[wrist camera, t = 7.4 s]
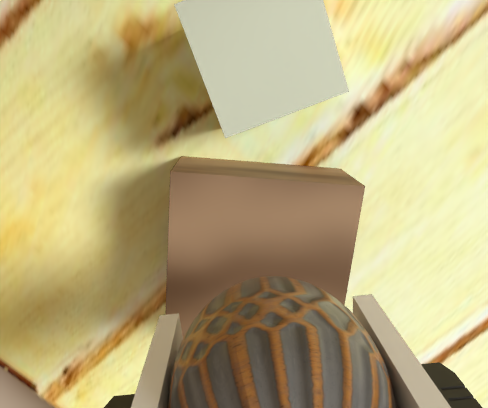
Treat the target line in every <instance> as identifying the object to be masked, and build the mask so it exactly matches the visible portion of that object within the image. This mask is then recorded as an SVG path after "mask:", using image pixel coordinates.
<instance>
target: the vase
mask: <svg viewBox="0 0 488 408" xmlns="http://www.w3.org/2000/svg"><path fill="white" fill-rule="evenodd" d="M167 408H397V405H396V399H395V395H394V390H393V386H392V382H391V379H390V376H389V373H388V370H387V368H386V365H385V363H384V360H383V358H382V356H381V354H380V352H379V351H378V349H377V347H376V345H375V343H374V342H373V340H372V339H371V337H370V335H369V334H368V332H367V331H366V329H365V328H364V327H363V325H362V324H361V323H360V322H359V320H358V319H357V318H356V317H355V315H354V314H353V313H352V312H351V311H350V310H349V309H348V308H347V307H345V306H344V305H343V304H342V303H341V302H340V301H338V300H337V299H336V298H335V297H333V296H332V295H330V294H329V293H327V292H325V291H324V290H322V289H320V288H319V287H317V286H315V285H312V284H310V283H307V282H304V281H301V280H297V279H293V278H288V277H280V276H266V277H258V278H253V279H249V280H246V281H243V282H240V283H238V284H236V285H234V286H232V287H230V288H228V289H227V290H225V291H223V292H222V293H220V294H219V295H218V296H216V297H215V298H214V299H212V300H211V301H210V302H209V303H208V304H207V305H206V306H205V307H204V308H203V309H202V311H201V312H200V313H199V314H198V315H197V317H196V318H195V319H194V321H193V322H192V324H191V325H190V327H189V329H188V330H187V332H186V334H185V336H184V338H183V340H182V342H181V344H180V347H179V350H178V352H177V355H176V358H175V362H174V365H173V370H172V374H171V378H170V384H169V391H168V401H167Z"/></svg>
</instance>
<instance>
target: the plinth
mask: <svg viewBox="0 0 488 408" xmlns="http://www.w3.org/2000/svg"><path fill="white" fill-rule="evenodd" d="M364 189H365V186H364V185H362V184H361V183H360V182H358V181H357V180H356V179H354V178H353V177H351V176H350V175H349V174H347V173H346V172H344V171H343V170H342V169H337V168H324V167H312V166H299V165H286V164H274V163H261V162H248V161H235V160H223V159H210V158H197V157H185V156H181V158H180V159H179V161H178V162H177V163H176V165H175V166H174V167H173V169H172V170H171V171H170V201H169V230H168V260H167V289H166V315H168V314H178V313H179V317H180V323H181V330H182V336H183V338H184V336H185V334H186V332H187V330H188V329H189V327H190V325H191V324H192V322H193V321H194V319H195V318H196V317H197V315H198V314H199V313H200V312H201V311H202V309H203V308H204V307H205V306H206V305H207V304H208V303H209V302H210V301H211V300H212V299H214V298H215V297H216V296H218V295H219V294H220V293H222V292H223V291H225V290H227V289H228V288H230V287H232V286H234V285H236V284H238V283H240V282H243V281H246V280H249V279H253V278H258V277H266V276H280V277H288V278H293V279H297V280H301V281H304V282H307V283H310V284H312V285H315V286H317V287H319V288H320V289H322V290H324V291H325V292H327V293H329V294H330V295H332V296H333V297H335V298H336V299H337V300H338V301H340V302H341V303H342V304H343V305H344V304H345V298H346V293H347V287H348V281H349V275H350V270H351V264H352V258H353V252H354V247H355V241H356V235H357V229H358V224H359V218H360V212H361V206H362V201H363V195H364Z"/></svg>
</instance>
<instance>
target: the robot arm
mask: <svg viewBox="0 0 488 408" xmlns="http://www.w3.org/2000/svg"><path fill="white" fill-rule="evenodd" d="M353 314H354V315H355V317H356V318H357V319H358V320H359V322H360V323H361V324H362V325H363V327H364V328H365V329H366V331H367V332H368V334H369V335H370V337H371V339H372V340H373V342H374V343H375V345H376V347H377V349H378V351H379V352H380V354H381V356H382V358H383V360H384V363H385V365H386V368H387V370H388V373H389V376H390V379H391V382H392V386H393V390H394V395H395V399H396V405H397V408H482V407H481V405H480V404H479V403H478V402H477V400H476V399H474V398H473V395H472V394H471V393H470V392H469V390H468V389H467V388H465V385H464V384H463V383H462V382H461V380H460V379H459V378H458V377H457V375H456V374H455V373H454V372H453V371H451V370H450V369H448V368H447V367H445V366H444V365H442V364H441V363H429V364H420V362H419V361H418V360H417V358H416V357H415V355H414V354H413V352H412V351H411V350H410V348H409V347H408V345H407V344H406V342H405V341H404V340H403V338H402V337H401V335H400V334H399V332H398V331H397V330H396V328H395V327H394V325H393V324H392V322H391V321H390V319H389V318H388V317H387V315H386V314H385V312H384V311H383V309H382V308H381V307H380V305H379V304H378V302H377V301H376V299H375V298H374V297H373V295H372V294H370V295H360V296H353ZM182 340H183V336H182V330H181V323H180V317H179V313H178V314H168V315H160V316H159V319H158V323H157V326H156V329H155V332H154V335H153V338H152V342H151V345H150V348H149V351H148V354H147V358H146V361H145V364H144V367H143V370H142V374H141V377H140V380H139V383H138V386H137V390H136V393H135V394H131V395H121V396H114V397H113V398H112V399H111V400H110V401H109V402H108V404H107V405H106V406H105V407H104V408H167V401H168V391H169V384H170V378H171V374H172V370H173V365H174V362H175V358H176V355H177V352H178V350H179V347H180V344H181V342H182Z"/></svg>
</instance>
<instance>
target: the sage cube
mask: <svg viewBox="0 0 488 408" xmlns="http://www.w3.org/2000/svg"><path fill="white" fill-rule="evenodd" d="M174 5H175V8H176V11H177V13H178V16H179V18H180V21H181V24H182V26H183V29H184V31H185V34H186V37H187V39H188V42H189V44H190V47H191V50H192V52H193V55H194V58H195V60H196V63H197V65H198V68H199V71H200V73H201V76H202V78H203V81H204V84H205V86H206V89H207V91H208V94H209V97H210V99H211V102H212V105H213V107H214V110H215V112H216V115H217V118H218V120H219V123H220V125H221V128H222V131H223V133H224V136H225V138H227V137H230V136H233V135H235V134H238V133H241V132H243V131H246V130H249V129H251V128H254V127H256V126H259V125H262V124H264V123H267V122H270V121H272V120H275V119H277V118H280V117H283V116H285V115H288V114H291V113H293V112H296V111H299V110H301V109H304V108H306V107H309V106H312V105H314V104H317V103H320V102H322V101H325V100H327V99H330V98H333V97H335V96H338V95H341V94H343V93H346V92H349V90H348V86H347V83H346V79H345V76H344V72H343V69H342V65H341V62H340V58H339V55H338V51H337V48H336V44H335V40H334V37H333V33H332V30H331V26H330V23H329V19H328V16H327V12H326V9H325V5H324V2H323V0H184V1H181V2H179V3H176V4H174Z"/></svg>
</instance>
